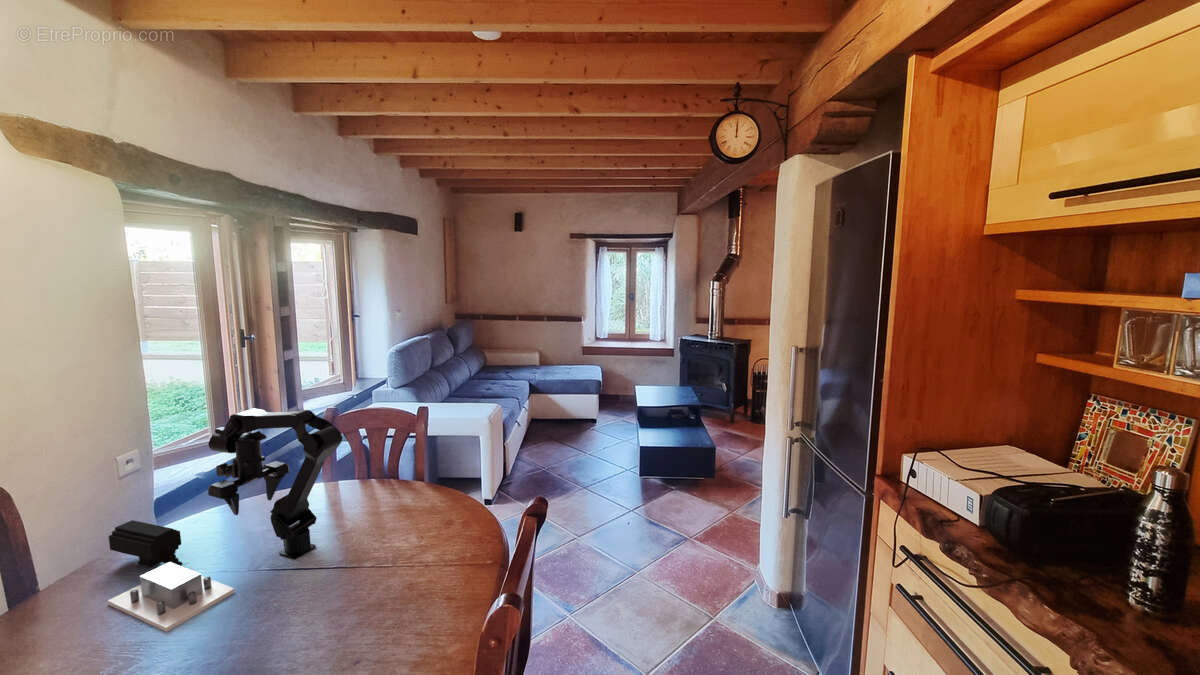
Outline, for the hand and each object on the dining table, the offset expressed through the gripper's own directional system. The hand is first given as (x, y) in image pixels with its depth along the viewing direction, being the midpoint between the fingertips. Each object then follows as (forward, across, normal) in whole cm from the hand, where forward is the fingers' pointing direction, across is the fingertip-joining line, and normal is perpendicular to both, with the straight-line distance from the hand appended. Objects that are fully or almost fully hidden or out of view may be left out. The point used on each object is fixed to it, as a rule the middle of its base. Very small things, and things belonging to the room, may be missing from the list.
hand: (253, 507), depth 137 cm
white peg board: (+11, +23, +5) cm, 26 cm away
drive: (+10, +23, +5) cm, 25 cm away
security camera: (+11, +17, -15) cm, 26 cm away
